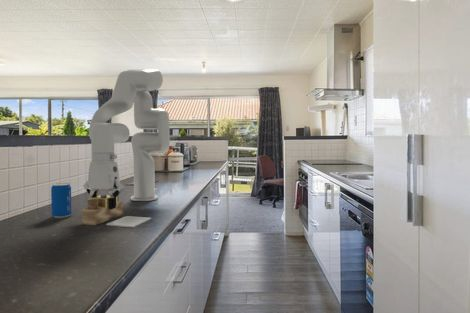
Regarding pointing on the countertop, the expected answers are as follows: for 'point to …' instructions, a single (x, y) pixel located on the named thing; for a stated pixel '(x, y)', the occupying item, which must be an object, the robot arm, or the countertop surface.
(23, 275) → the countertop surface
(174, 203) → the countertop surface
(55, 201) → the beverage can
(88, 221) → the plane body
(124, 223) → the mat
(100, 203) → the lever cap
